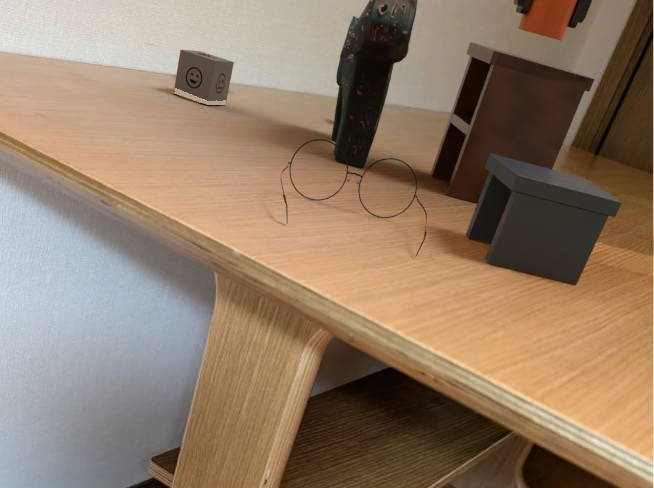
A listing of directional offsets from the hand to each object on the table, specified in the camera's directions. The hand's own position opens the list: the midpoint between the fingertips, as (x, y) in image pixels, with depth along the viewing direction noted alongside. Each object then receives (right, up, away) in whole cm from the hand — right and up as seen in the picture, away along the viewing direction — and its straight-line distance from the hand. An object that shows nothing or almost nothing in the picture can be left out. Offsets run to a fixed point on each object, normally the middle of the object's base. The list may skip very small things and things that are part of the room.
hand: (545, 19), depth 85 cm
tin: (0, -1, +1) cm, 1 cm away
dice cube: (-37, +2, +20) cm, 42 cm away
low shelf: (-7, -29, -13) cm, 33 cm away
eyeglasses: (-23, -28, -17) cm, 40 cm away
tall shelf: (-4, -14, +10) cm, 18 cm away
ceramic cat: (-20, -8, +13) cm, 25 cm away
